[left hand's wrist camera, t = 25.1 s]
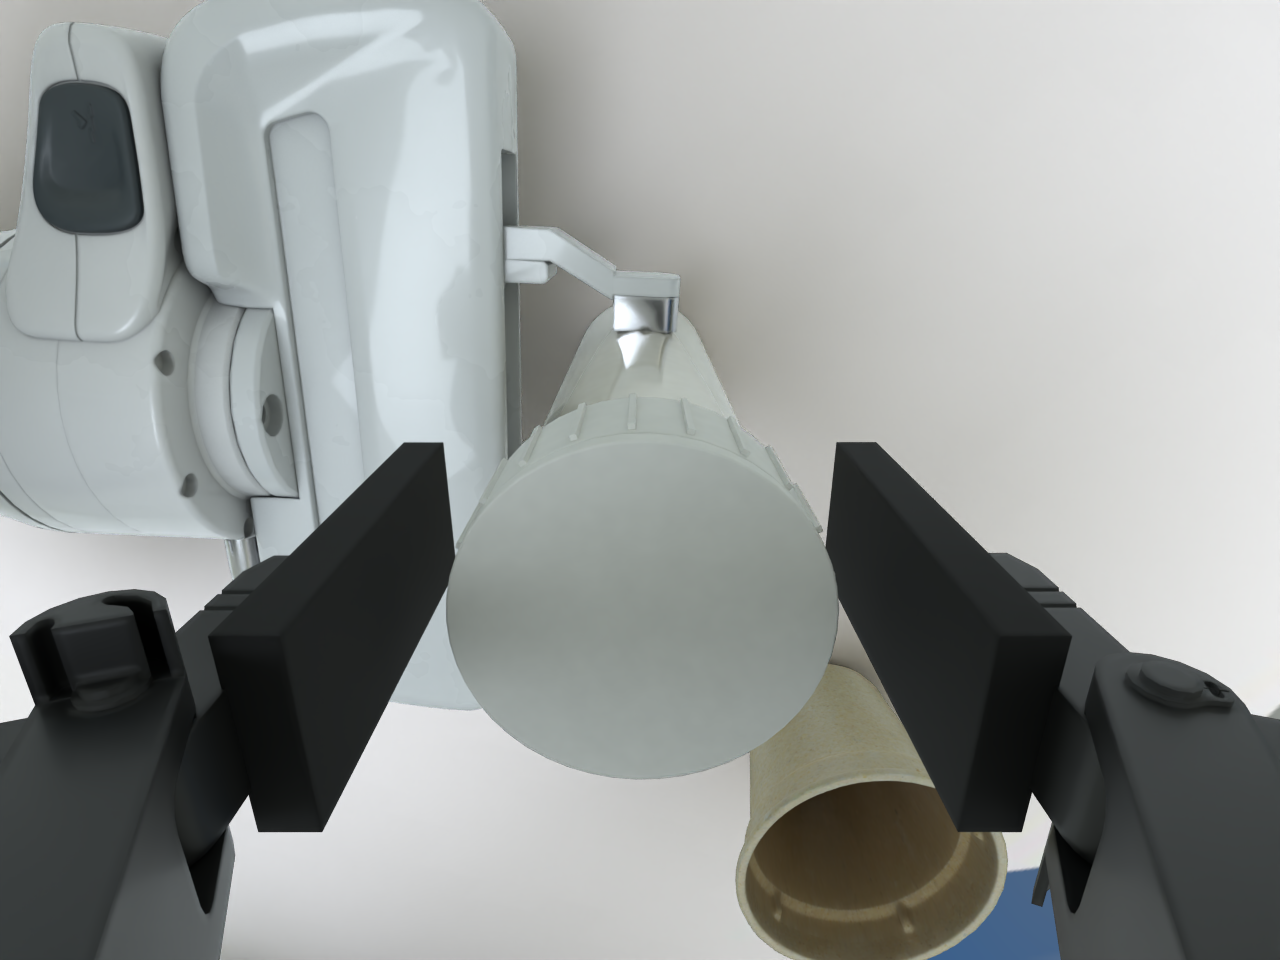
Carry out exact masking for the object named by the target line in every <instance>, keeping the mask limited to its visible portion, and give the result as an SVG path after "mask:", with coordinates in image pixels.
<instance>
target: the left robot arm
mask: <svg viewBox="0 0 1280 960" xmlns="http://www.w3.org/2000/svg"><path fill="white" fill-rule="evenodd" d="M826 550H827V553H828V555H829V558H830V560H831V563H832V566H833V570H834V572H835V578H836V583H837V590H838V598H839V600H840V602H841V604H842V606H843V608H844V610H845V612H846V614H847V616H848V618H849V620H850V622H851V624H852V626H853V628H854V630H855V632H856V634H857V635H858V637H859V639H860V641H861V643H862V645H863V647H864V649H865V651H866V653H867V655H868V657H869V659H870V661H871V663H872V665H873V667H874V669H875V671H876V673H877V675H878V677H879V679H880V681H881V683H882V684H883V686H884V688H885V690H886V692H887V694H888V696H889V698H890V700H891V702H892V704H893V706H894V708H895V710H896V712H897V714H898V716H899V718H900V720H901V722H902V724H903V726H904V728H905V730H906V731H907V733H908V735H909V737H910V739H911V741H912V743H913V745H914V747H915V749H916V751H917V753H918V755H919V757H920V759H921V761H922V763H923V765H924V767H925V769H926V771H927V773H928V775H929V777H930V779H931V780H932V782H933V784H934V786H935V788H936V790H937V792H938V794H939V796H940V798H941V800H942V802H943V804H944V806H945V808H946V810H947V812H948V814H949V816H950V818H951V820H952V822H953V824H954V826H955V827H956V829H957V831H958V832H1022V829H1023V825H1024V821H1025V817H1026V813H1027V809H1028V806H1029V802H1030V798H1031V794H1032V793H1033V794H1034V796H1035V797H1036V798H1037V800H1038V801H1039V803H1040V804H1041V806H1042V807H1043V809H1044V810H1045V812H1046V813H1047V815H1048V816H1049V818H1050V819H1051V821H1052V824H1051V828H1050V831H1049V835H1048V839H1047V842H1046V846H1045V849H1044V853H1043V857H1042V860H1041V864H1040V867H1039V871H1038V875H1037V878H1036V882H1035V886H1034V890H1033V897H1032V904H1035V905H1038V906H1041V907H1042V906H1043V902H1044V899H1045V895H1046V892H1047V891H1048V890H1049V889H1050V891H1051V898H1052V904H1053V911H1054V918H1055V924H1056V931H1057V937H1058V944H1059V951H1060V957H1061V960H1280V720H1279V719H1274V718H1268V717H1263V716H1258V715H1252V714H1250V712H1249V710H1248V709H1247V707H1246V705H1245V704H1244V703H1243V702H1242V701H1241V700H1240V698H1239V697H1238V696H1237V695H1236V694H1235V693H1234V692H1233V691H1232V690H1231V689H1230V688H1229V687H1227V686H1225V685H1224V684H1222V683H1221V682H1219V681H1218V680H1216V679H1215V678H1213V677H1211V676H1210V675H1208V674H1207V673H1204V672H1202V671H1200V670H1197V669H1195V668H1193V667H1190V666H1188V665H1186V664H1183V663H1181V662H1178V661H1174V660H1171V659H1167V658H1163V657H1159V656H1156V655H1152V654H1142V653H1132V652H1129V651H1128V650H1127V649H1126V648H1125V647H1124V646H1122V645H1121V644H1120V643H1119V642H1118V641H1117V640H1116V639H1115V638H1114V637H1113V636H1111V635H1110V634H1109V633H1108V632H1107V631H1106V630H1105V629H1104V628H1103V627H1101V626H1100V625H1099V624H1098V623H1097V622H1096V621H1095V620H1094V619H1093V618H1091V617H1090V616H1089V615H1088V614H1087V613H1086V612H1085V611H1084V610H1083V609H1082V608H1077V607H1076V603H1075V602H1074V601H1073V600H1072V599H1070V598H1069V597H1068V596H1067V595H1066V594H1065V593H1064V592H1059V588H1058V587H1057V586H1056V585H1055V584H1054V583H1053V582H1052V581H1051V580H1049V579H1048V578H1047V577H1046V576H1045V575H1044V574H1043V573H1042V572H1041V571H1040V570H1038V569H1037V568H1035V567H1033V566H1031V565H1029V564H1027V563H1025V562H1023V561H1021V560H1019V559H1017V558H1015V557H1014V556H1012V555H1010V554H1008V553H988V552H987V551H986V550H985V549H984V548H983V547H982V546H981V545H980V544H979V543H978V542H977V541H976V540H975V539H974V538H973V537H972V536H971V535H970V534H969V533H968V532H967V531H965V530H964V529H963V528H962V527H961V526H960V525H959V524H958V523H957V522H956V521H955V520H954V519H953V518H952V517H951V516H950V515H949V514H948V513H947V512H946V511H945V510H944V509H943V508H942V507H941V506H940V505H939V504H938V503H937V502H936V501H935V500H934V499H933V498H932V497H931V496H930V495H929V494H928V493H927V492H926V491H925V490H924V489H923V488H922V487H921V486H920V485H919V484H918V483H917V482H916V481H915V480H914V479H913V478H912V477H911V476H910V475H909V474H908V473H907V472H906V471H905V470H904V469H903V468H902V467H901V466H900V465H899V464H898V463H897V462H896V461H895V460H894V459H893V458H891V457H890V456H889V455H888V454H887V453H886V452H885V451H884V450H883V449H882V448H881V447H880V446H879V445H878V444H877V443H876V442H837V443H836V453H835V462H834V472H833V481H832V491H831V500H830V510H829V519H828V529H827V538H826ZM454 560H455V548H454V538H453V529H452V519H451V510H450V500H449V491H448V481H447V472H446V462H445V453H444V443H443V442H404V443H403V444H402V445H401V446H400V447H399V448H398V449H397V450H396V451H395V452H394V453H393V454H392V455H391V456H390V457H389V458H387V459H386V460H385V461H384V462H383V463H382V464H381V465H380V466H379V467H378V468H377V469H376V470H375V471H374V472H373V473H372V474H371V475H370V476H369V477H368V478H367V479H366V480H365V481H364V482H363V483H362V484H361V485H360V486H359V487H358V488H357V489H356V490H355V491H354V492H353V493H352V494H351V495H350V496H349V497H348V498H347V499H346V500H345V501H344V502H343V503H342V504H341V505H340V506H339V507H338V508H337V509H336V510H335V511H334V512H333V513H332V514H331V515H330V516H329V517H328V518H327V519H326V520H325V521H324V522H323V523H322V524H321V525H320V526H319V527H318V528H317V529H316V530H315V531H313V532H312V533H311V534H310V535H309V536H308V537H307V538H306V539H305V540H304V541H303V542H302V543H301V544H300V545H299V546H298V547H297V548H296V549H295V550H294V551H293V552H292V553H291V554H290V555H274V556H272V557H270V558H268V559H266V560H264V561H262V562H260V563H258V564H256V565H254V566H252V567H250V568H249V569H247V570H245V571H243V572H242V573H241V574H239V575H238V576H237V577H236V578H235V579H234V580H233V581H232V582H231V583H230V584H228V585H227V586H226V587H225V588H224V589H223V590H222V594H217V595H216V596H215V597H214V598H213V599H212V600H211V601H210V602H209V603H208V604H207V605H205V606H204V607H205V609H204V610H200V611H199V612H198V613H197V614H196V615H194V616H193V617H192V618H191V619H190V620H189V621H188V622H187V623H186V624H185V625H183V626H182V627H181V628H180V629H179V630H178V631H177V632H176V633H175V630H174V626H173V622H172V619H171V615H170V612H169V608H168V604H167V601H166V598H164V597H163V596H161V595H159V594H158V593H156V592H154V591H145V590H137V589H132V590H120V591H108V592H104V593H100V594H95V595H91V596H87V597H82V598H78V599H76V600H73V601H70V602H67V603H64V604H62V605H59V606H56V607H53V608H51V609H49V610H47V611H45V612H43V613H41V614H39V615H37V616H36V617H34V618H32V619H30V620H28V621H26V622H25V623H24V624H22V625H21V626H20V627H19V628H18V629H17V630H16V631H15V632H13V633H12V634H11V635H10V636H9V637H10V640H11V642H12V645H13V648H14V650H15V653H16V655H17V658H18V661H19V663H20V666H21V669H22V671H23V674H24V677H25V679H26V682H27V685H28V687H29V690H30V693H31V695H32V698H33V701H34V703H35V707H34V708H33V710H32V712H31V713H30V715H29V717H28V718H25V719H19V720H14V721H9V722H4V723H0V960H219V959H220V953H221V946H222V940H223V933H224V926H225V920H226V913H227V907H228V900H229V893H230V887H231V880H232V874H233V867H234V860H235V851H234V844H233V839H232V835H231V831H230V828H229V823H230V822H231V820H232V819H233V817H234V816H235V814H236V813H237V811H238V810H239V808H240V807H241V805H242V804H243V802H244V801H245V799H246V798H247V796H248V795H249V798H250V802H251V806H252V809H253V813H254V817H255V821H256V825H257V829H258V832H322V831H323V829H324V827H325V826H326V824H327V822H328V820H329V818H330V816H331V814H332V812H333V810H334V808H335V806H336V804H337V802H338V800H339V798H340V796H341V794H342V792H343V790H344V788H345V786H346V784H347V782H348V780H349V779H350V777H351V775H352V773H353V771H354V769H355V767H356V765H357V763H358V761H359V759H360V757H361V755H362V753H363V751H364V749H365V747H366V745H367V743H368V741H369V739H370V737H371V735H372V733H373V731H374V730H375V728H376V726H377V724H378V722H379V720H380V718H381V716H382V714H383V712H384V710H385V708H386V706H387V704H388V702H389V700H390V698H391V696H392V694H393V692H394V690H395V688H396V686H397V684H398V683H399V681H400V679H401V677H402V675H403V673H404V671H405V669H406V667H407V665H408V663H409V661H410V659H411V657H412V655H413V653H414V651H415V649H416V647H417V645H418V643H419V641H420V639H421V637H422V635H423V634H424V632H425V630H426V628H427V626H428V624H429V622H430V620H431V618H432V616H433V614H434V612H435V610H436V608H437V606H438V604H439V602H440V600H441V598H442V596H443V594H444V592H445V590H446V588H447V587H448V582H449V576H450V573H451V569H452V566H453V563H454Z"/></svg>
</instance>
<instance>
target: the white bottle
mask: <svg viewBox="0 0 1280 960" xmlns="http://www.w3.org/2000/svg"><path fill="white" fill-rule="evenodd" d="M613 310H614V305H613V306H611V307H610V308H608V309H606V310H605V311H603V312H602V313H601V314H600V315H598V316H597V318H596V319H595V320H594V321H593V322H592V323H591V324H590V326H589V327H588V329H587V331H586V332H585V334H584V336H583V338H582V341H581V343H580V345H579V347H578V349H577V352H576V354H575V356H574V358H573V361H572V363H571V365H570V367H569V369H568V372H567V374H566V376H565V378H564V381H563V383H562V385H561V387H560V389H559V392H558V394H557V396H556V398H555V401H554V403H553V405H552V407H551V409H550V412H549V414H548V416H547V418H546V421H545V423H544V425H543V427H544V426H546V425H547V424H549V423H551V422H552V421H554V420H555V419H557V418H559V417H561V416H563V415H565V414H567V413H570V412H572V411H574V410H576V409H577V408H578V405H579V404H581V403H584V402H585V404H586V406H588V405H591V404H595V403H598V402H601V401H607V400H613V399H620V398H629V394H633V393H636V397H654V398H664V399H673V400H677V401H681V398H686V399H688V401H689V403H690V404H694V405H697V406H699V407H702V408H705V409H708V410H710V411H713V412H715V413H717V414H719V415H721V416H723V417H725V418H727V419H728V417H729V416H732V417H734V418H735V419H736V421H737V423H738V425H739V426H740V424H739V422H738V420H737V418H736V415H735V413H734V411H733V409H732V407H731V404H730V402H729V400H728V398H727V396H726V394H725V391H724V389H723V387H722V385H721V383H720V381H719V378H718V376H717V374H716V372H715V370H714V367H713V365H712V363H711V361H710V359H709V357H708V354H707V352H706V350H705V348H704V346H703V344H702V341H701V339H700V337H699V335H698V333H697V331H696V329H695V328H694V326H693V325H692V324H691V322H690V321H689V320H688V319H687V318H686V317H685V316H684V315H683V314H682V313H680V312H679V311H678V319H677V330H676V332H673V333H658V332H652V331H651V330H649V329H648V328H647V327H644V328H642V329H641V330H639V331H633V332H628V331H613ZM740 427H741V426H740Z"/></svg>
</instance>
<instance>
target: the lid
mask: <svg viewBox="0 0 1280 960" xmlns="http://www.w3.org/2000/svg"><path fill="white" fill-rule="evenodd" d="M822 531H823V529H822V527H821V525H820V523H819V522H818V520H817V518H816V516H815V515H814V513H813V511H812V509H811V508H810V506H809V504H808V502H807V501H806V499H805V497H804V495H803V494H802V492H801V490H800V488H799V487H798V485H797V483H796V484H792V482H791V480H790V479H789V477H788V475H787V473H786V471H785V470H784V468H783V466H782V464H781V462H780V460H779V459H778V457H777V455H776V453H775V451H774V450H773V448H772V447H771V446H770V445H769V446H767V447H766V448H765V447H764V446H763V445H762V444H761V443H760V442H759V441H758V440H757V439H756V438H755V437H754V436H753V435H751V434H750V433H748V432H747V431H746V430H744V429H743V428H741V427H740V426H739V425H738V423H737V421H736V419H735V418H734V417H732V416H729V417H728V419H727V418H725V417H723V416H721V415H719V414H717V413H715V412H713V411H710V410H708V409H705V408H702V407H699V406H697V405H694V404H690V403H689V401H688V399H686V398H681V401H677V400H673V399H664V398H654V397H636V393H633V394H629V398H620V399H613V400H607V401H601V402H598V403H595V404H591V405H588V406H586V404H585V402H584V403H581V404H579V405H578V408H577V409H576V410H574V411H572V412H570V413H567V414H565V415H563V416H561V417H559V418H557V419H555V420H554V421H552V422H551V423H549V424H547V425H546V426H544V427H541V426H540V425H538V426H537V427H535V428H534V430H533V432H532V434H531V436H530V438H529V439H527V440H526V441H525V442H524V443H523V444H522V445H521V446H520V447H519V448H518V449H517V450H516V451H515V453H514V454H513V455H512V456H511V457H510V458H509V459H508V460H506V459H505V458H503V459H502V461H501V462H500V464H499V465H498V467H497V469H496V471H495V473H494V474H493V476H492V478H491V480H490V482H489V484H488V485H487V487H486V489H485V491H484V493H483V494H482V496H481V498H480V500H479V503H478V505H477V507H476V508H475V510H474V512H473V514H472V516H471V518H470V519H469V521H468V523H467V525H466V527H465V528H464V530H463V532H462V534H461V536H460V537H459V539H458V541H457V543H456V546H455V548H458V551H457V554H456V557H455V560H454V563H453V566H452V569H451V573H450V576H449V582H448V589H447V595H446V623H447V629H448V636H449V642H450V645H451V649H452V652H453V655H454V658H455V662H456V665H457V667H458V669H459V671H460V673H461V675H462V677H463V679H464V682H465V684H466V685H467V687H468V688H469V690H470V691H471V693H472V694H473V696H474V698H475V699H476V701H477V702H478V703H479V705H480V706H481V707H482V708H483V709H484V710H485V712H486V713H487V714H488V715H489V716H490V717H491V718H492V720H494V721H495V722H496V723H497V724H498V725H499V726H500V727H501V728H502V729H503V730H505V731H506V732H507V733H508V734H509V735H510V736H512V737H513V738H515V739H516V740H518V741H519V742H520V743H522V744H523V745H525V746H526V747H528V748H529V749H531V750H533V751H535V752H537V753H538V754H540V755H542V756H544V757H546V758H548V759H550V760H553V761H555V762H557V763H560V764H562V765H565V766H567V767H570V768H574V769H577V770H580V771H584V772H587V773H591V774H596V775H602V776H607V777H613V778H625V779H662V778H670V777H677V776H684V775H688V774H692V773H697V772H701V771H705V770H708V769H711V768H714V767H717V766H719V765H722V764H725V763H728V762H730V761H732V760H734V759H736V758H738V757H740V756H742V755H744V754H747V753H748V752H750V751H752V750H753V749H755V748H756V747H758V746H760V745H761V744H763V743H764V742H766V741H767V740H769V739H770V738H771V737H772V736H774V735H775V734H776V733H777V732H779V731H780V730H781V729H782V728H784V727H785V726H786V725H787V724H788V723H789V722H790V721H791V720H792V719H793V718H794V717H795V716H796V715H797V713H798V712H799V711H800V710H801V709H802V708H803V706H804V705H805V704H806V702H807V701H808V700H809V698H810V697H811V696H812V694H813V693H814V691H815V689H816V687H817V686H818V684H819V682H820V680H821V679H822V677H823V675H824V673H825V670H826V668H827V665H828V663H829V660H830V657H831V655H832V652H833V647H834V643H835V639H836V634H837V627H838V615H839V603H838V590H837V583H836V578H835V572H834V570H833V566H832V563H831V560H830V558H829V555H828V553H827V550H826V548H825V545H824V543H823V541H822V539H821V537H820V536H819V534H818V533H820V532H822Z"/></svg>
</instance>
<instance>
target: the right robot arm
mask: <svg viewBox="0 0 1280 960" xmlns="http://www.w3.org/2000/svg"><path fill="white" fill-rule="evenodd" d="M557 266H558V267H560V268H562V269H563V270H565V271H566V272H568V273H569V274H571V275H573V276H574V277H576V278H577V279H579V280H581V281H582V282H584V283H585V284H587V285H588V286H590V287H592V288H593V289H595V290H596V291H598V292H600V293H601V294H603V295H604V296H606V297H608V298H609V299H611V300H613V297H614V310H613V331H628V332H633V331H639V330H641V329H642V328H644V327H647V328H648V329H649V330H651V331H652V332H658V333H673V332H676V330H677V319H678V307H679V292H680V279H681V278H680V276H679V275H677V274H671V273H659V272H639V271H619V270H616V265H614V264H613V263H611V262H610V261H608V260H607V259H605V258H604V257H602V256H600V255H599V254H597V253H596V252H594V251H593V250H591V249H590V248H588V247H587V246H585V245H584V244H582V243H581V242H579V241H578V240H576V239H575V238H573V237H572V236H570V235H569V234H567V233H566V232H564V231H563V230H561V229H560V228H558V227H542V226H522V225H519V204H518V135H517V67H516V52H515V48H514V45H513V42H512V41H511V39H510V37H509V36H508V34H507V33H506V31H505V30H504V28H503V27H502V25H501V24H500V23H499V21H498V20H497V19H496V17H495V16H494V15H493V14H492V13H491V12H490V11H489V10H488V9H487V8H486V7H485V5H484V4H483V3H482V2H481V1H479V0H206V1H204V2H202V3H201V4H199V5H197V6H196V7H194V8H193V9H192V10H190V11H189V12H188V13H187V14H186V15H185V16H183V18H182V19H181V20H180V21H179V22H178V24H177V25H176V26H175V28H174V29H173V31H172V33H171V35H170V37H169V38H166V37H163V36H159V35H155V34H151V33H146V32H142V31H137V30H133V29H127V28H121V27H114V26H107V25H100V24H91V23H79V22H64V23H57V24H53V25H50V26H49V27H47V28H46V29H44V30H43V31H42V33H41V34H40V35H39V37H38V39H37V41H36V44H35V47H34V51H33V56H32V63H31V75H30V93H29V113H28V128H27V144H26V155H25V166H24V177H23V185H22V193H21V202H20V208H19V214H18V221H17V227H16V229H13V230H8V231H1V232H0V516H5V517H8V518H11V519H14V520H17V521H20V522H22V523H25V524H28V525H31V526H35V527H38V528H42V529H48V530H53V531H60V532H72V533H91V534H117V535H140V536H161V537H186V538H210V539H224V541H225V547H226V552H227V558H228V563H229V569H230V572H231V576H232V580H234V579H235V578H236V577H237V576H238V575H239V574H241V573H242V572H243V571H245V570H247V569H249V568H250V567H252V566H254V565H256V564H258V563H260V562H262V561H264V560H266V559H268V558H270V557H272V556H274V555H290V554H291V553H292V552H293V551H294V550H295V549H296V548H297V547H298V546H299V545H300V544H301V543H302V542H303V541H304V540H305V539H306V538H307V537H308V536H309V535H310V534H311V533H312V532H313V531H315V530H316V529H317V528H318V527H319V526H320V525H321V524H322V523H323V522H324V521H325V520H326V519H327V518H328V517H329V516H330V515H331V514H332V513H333V512H334V511H335V510H336V509H337V508H338V507H339V506H340V505H341V504H342V503H343V502H344V501H345V500H346V499H347V498H348V497H349V496H350V495H351V494H352V493H353V492H354V491H355V490H356V489H357V488H358V487H359V486H360V485H361V484H362V483H363V482H364V481H365V480H366V479H367V478H368V477H369V476H370V475H371V474H372V473H373V472H374V471H375V470H376V469H377V468H378V467H379V466H380V465H381V464H382V463H383V462H384V461H385V460H386V459H387V458H389V457H390V456H391V455H392V454H393V453H394V452H395V451H396V450H397V449H398V448H399V447H400V446H401V445H402V444H403V443H404V442H443V443H444V453H445V462H446V472H447V481H448V491H449V500H450V510H451V519H452V529H453V538H454V548H455V546H456V543H457V541H458V539H459V537H460V536H461V534H462V532H463V530H464V528H465V527H466V525H467V523H468V521H469V519H470V518H471V516H472V514H473V512H474V510H475V508H476V507H477V505H478V503H479V500H480V498H481V496H482V494H483V493H484V491H485V489H486V487H487V485H488V484H489V482H490V480H491V478H492V476H493V474H494V473H495V471H496V469H497V467H498V465H499V464H500V462H501V461H502V459H503V458H505V459H506V460H508V459H509V458H510V457H511V456H512V455H513V454H514V453H515V451H516V450H517V449H518V448H519V447H520V446H521V445H522V414H521V344H520V283H529V284H545V283H546V282H547V281H549V280H550V279H551V278H552V277H554V276H555V275H556V274H557ZM457 551H458V548H455V557H456V554H457ZM447 589H448V587H447V588H446V590H445V592H444V594H443V596H442V598H441V600H440V602H439V604H438V606H437V608H436V610H435V612H434V614H433V616H432V618H431V620H430V622H429V624H428V626H427V628H426V630H425V632H424V634H423V635H422V637H421V639H420V641H419V643H418V645H417V647H416V649H415V651H414V653H413V655H412V657H411V659H410V661H409V663H408V665H407V667H406V669H405V671H404V673H403V675H402V677H401V679H400V681H399V683H398V684H397V686H396V688H395V690H394V692H393V694H392V696H391V698H390V700H389V702H395V703H401V704H408V705H415V706H423V707H432V708H441V709H452V710H478V709H482V707H481V706H480V705H479V703H478V702H477V701H476V699H475V698H474V696H473V694H472V693H471V691H470V690H469V688H468V687H467V685H466V684H465V682H464V679H463V677H462V675H461V673H460V671H459V669H458V667H457V665H456V662H455V658H454V655H453V652H452V649H451V645H450V642H449V636H448V629H447V623H446V595H447Z"/></svg>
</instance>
